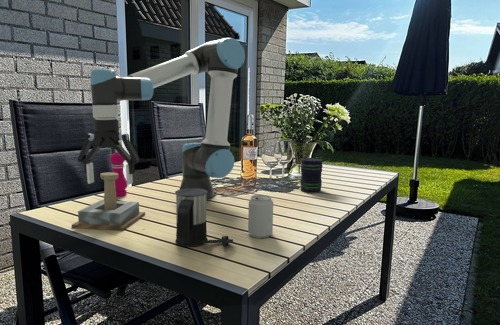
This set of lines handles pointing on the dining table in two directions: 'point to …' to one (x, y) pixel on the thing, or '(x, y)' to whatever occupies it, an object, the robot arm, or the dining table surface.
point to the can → (260, 216)
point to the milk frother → (193, 218)
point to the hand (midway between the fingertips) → (110, 183)
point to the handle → (109, 190)
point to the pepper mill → (118, 168)
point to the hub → (108, 216)
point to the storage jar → (311, 175)
